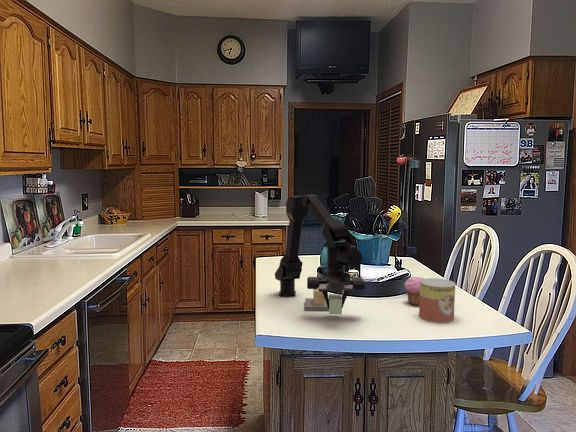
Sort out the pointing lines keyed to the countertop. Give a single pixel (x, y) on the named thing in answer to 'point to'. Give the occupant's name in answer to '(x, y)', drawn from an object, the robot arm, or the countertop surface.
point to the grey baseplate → (314, 306)
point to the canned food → (437, 300)
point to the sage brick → (335, 304)
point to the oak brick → (318, 297)
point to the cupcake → (413, 289)
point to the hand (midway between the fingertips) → (335, 308)
